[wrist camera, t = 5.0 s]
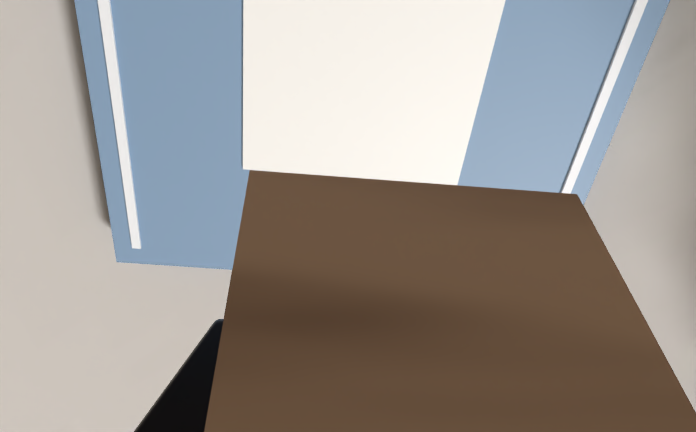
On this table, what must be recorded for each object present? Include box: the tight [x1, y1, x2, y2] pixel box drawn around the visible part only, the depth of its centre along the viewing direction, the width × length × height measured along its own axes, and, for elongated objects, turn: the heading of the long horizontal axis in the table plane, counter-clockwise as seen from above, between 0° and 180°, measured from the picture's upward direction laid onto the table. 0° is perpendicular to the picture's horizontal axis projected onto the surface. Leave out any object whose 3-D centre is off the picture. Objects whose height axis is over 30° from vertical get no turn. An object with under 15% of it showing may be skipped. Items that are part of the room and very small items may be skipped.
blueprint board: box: [74, 0, 670, 270], centre depth 18 cm, size 16×16×1 cm
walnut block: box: [204, 170, 696, 432], centre depth 9 cm, size 5×5×5 cm
